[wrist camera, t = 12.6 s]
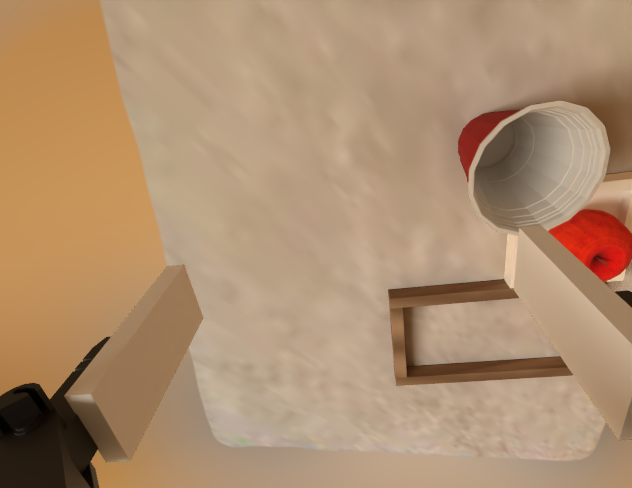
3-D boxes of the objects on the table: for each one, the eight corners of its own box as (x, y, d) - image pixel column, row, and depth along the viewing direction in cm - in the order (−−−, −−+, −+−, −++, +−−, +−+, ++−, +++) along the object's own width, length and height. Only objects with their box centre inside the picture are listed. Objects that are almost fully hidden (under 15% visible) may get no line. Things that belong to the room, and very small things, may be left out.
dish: (511, 185, 42) (519, 191, 41) (635, 171, 41) (648, 176, 39) (503, 281, 48) (510, 290, 46) (612, 271, 46) (623, 280, 45)
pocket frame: (388, 289, 50) (389, 298, 48) (597, 271, 46) (607, 280, 45) (394, 375, 56) (396, 385, 54) (577, 363, 53) (586, 374, 51)
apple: (522, 261, 46) (552, 298, 39) (537, 199, 42) (573, 227, 35) (592, 261, 45) (635, 298, 39) (614, 198, 41) (665, 226, 35)
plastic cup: (525, 193, 43) (586, 242, 32) (426, 187, 43) (454, 234, 32) (557, 88, 38) (642, 105, 27) (446, 82, 38) (486, 97, 27)
